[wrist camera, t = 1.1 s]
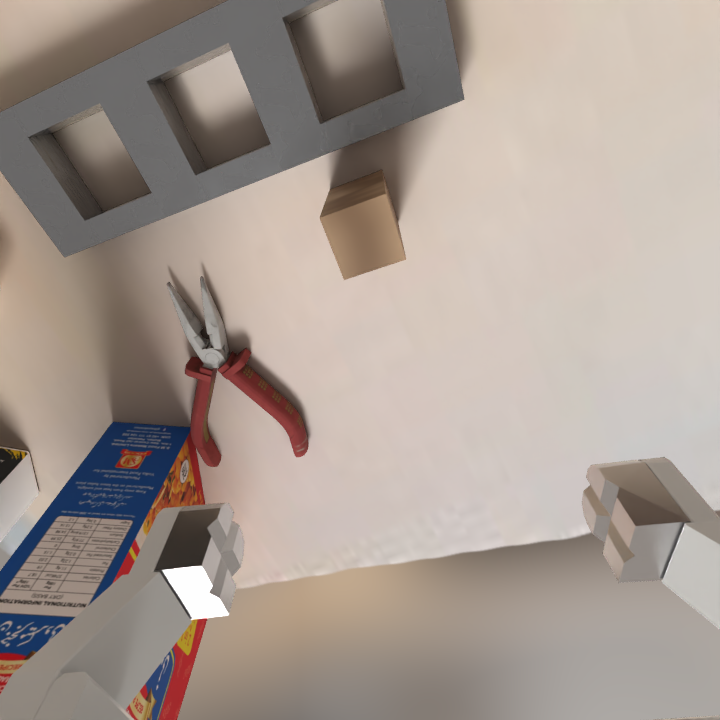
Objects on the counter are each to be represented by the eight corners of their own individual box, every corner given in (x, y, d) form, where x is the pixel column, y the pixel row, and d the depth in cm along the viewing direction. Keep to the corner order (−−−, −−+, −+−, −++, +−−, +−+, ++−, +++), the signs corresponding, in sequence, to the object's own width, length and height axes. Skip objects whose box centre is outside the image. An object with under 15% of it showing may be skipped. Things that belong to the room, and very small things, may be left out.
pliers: (255, 263, 35) (248, 275, 33) (313, 443, 46) (310, 461, 44) (125, 284, 36) (110, 297, 34) (211, 454, 47) (203, 473, 45)
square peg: (382, 169, 31) (386, 193, 24) (398, 223, 33) (406, 259, 26) (329, 189, 32) (319, 217, 25) (348, 240, 34) (344, 279, 27)
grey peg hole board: (421, -82, 24) (426, -98, 22) (457, 98, 28) (464, 99, 26) (-4, 124, 30) (-32, 127, 28) (83, 246, 34) (64, 257, 32)
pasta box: (218, 581, 59) (120, 908, 36) (159, 578, 59) (21, 905, 36) (192, 427, 44) (-8, 817, 21) (113, 421, 44) (-181, 810, 20)
